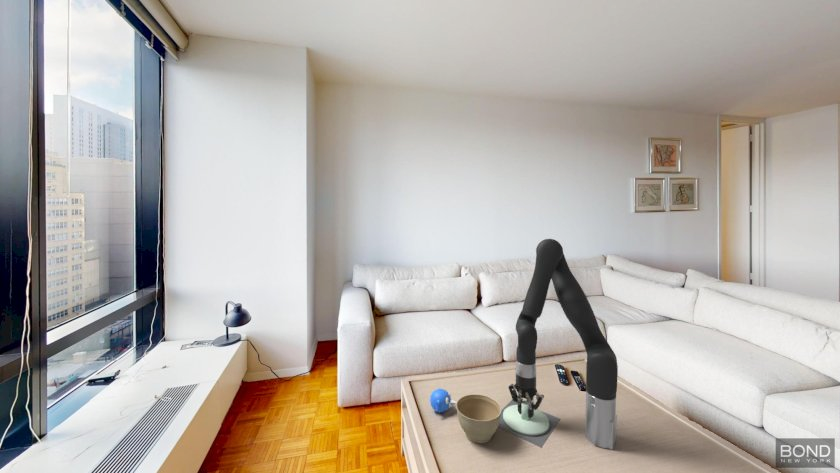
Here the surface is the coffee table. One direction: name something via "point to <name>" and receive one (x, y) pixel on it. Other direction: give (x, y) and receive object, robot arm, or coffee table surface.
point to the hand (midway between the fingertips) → (525, 414)
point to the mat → (536, 439)
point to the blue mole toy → (441, 400)
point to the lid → (525, 420)
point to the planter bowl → (478, 416)
